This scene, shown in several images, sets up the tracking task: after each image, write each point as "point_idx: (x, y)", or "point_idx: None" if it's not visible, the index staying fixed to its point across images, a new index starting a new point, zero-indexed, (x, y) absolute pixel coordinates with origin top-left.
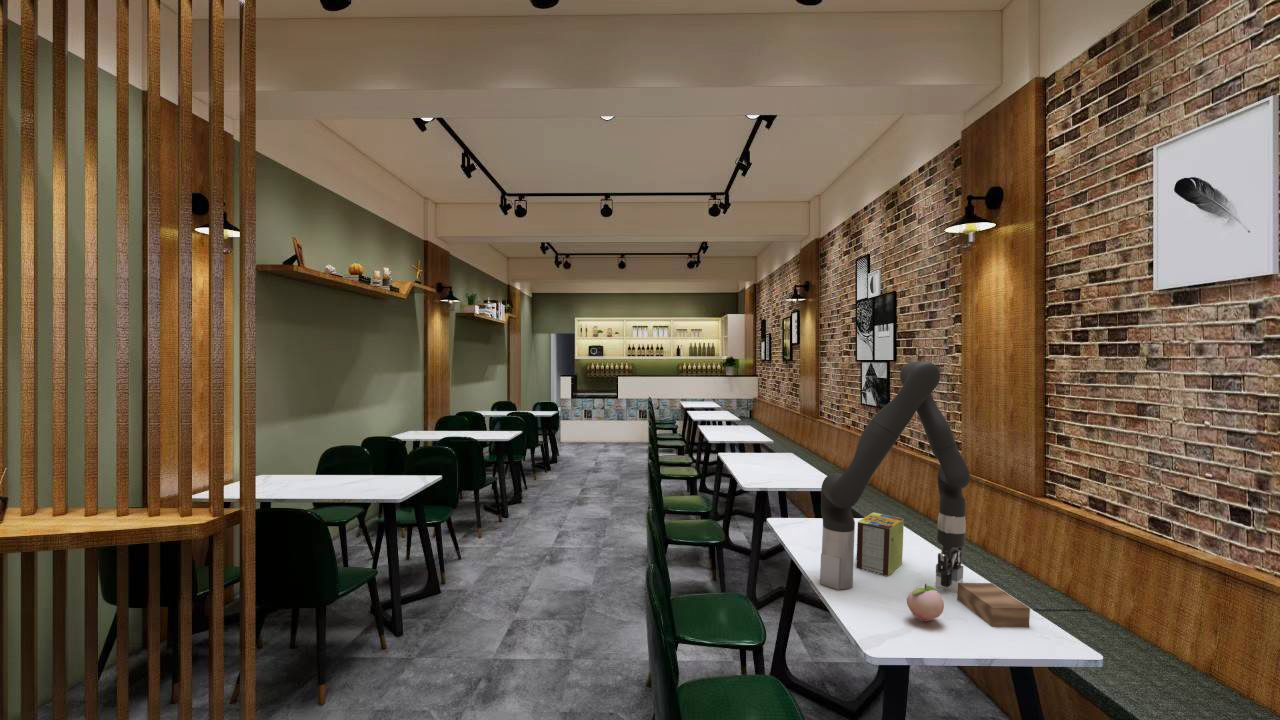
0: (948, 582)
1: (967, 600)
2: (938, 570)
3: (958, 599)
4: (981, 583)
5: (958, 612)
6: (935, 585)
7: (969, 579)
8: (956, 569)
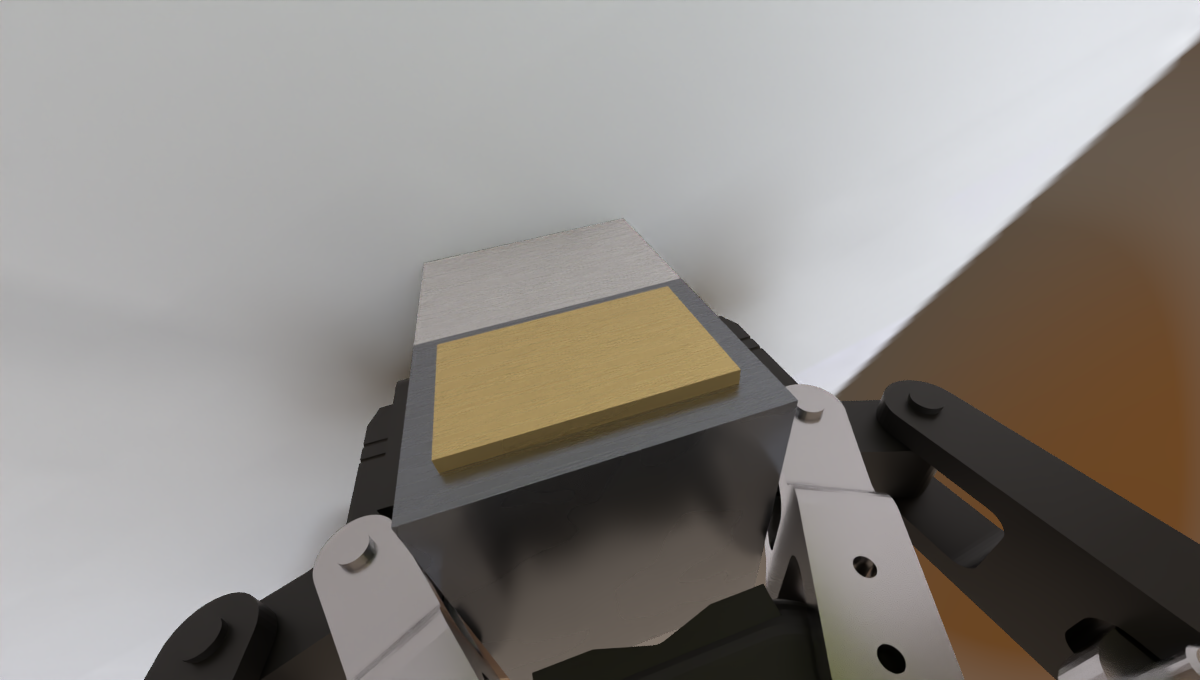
0: None
1: None
2: (157, 676)
3: None
4: None
5: (140, 637)
6: (423, 270)
7: (888, 293)
8: (531, 676)
